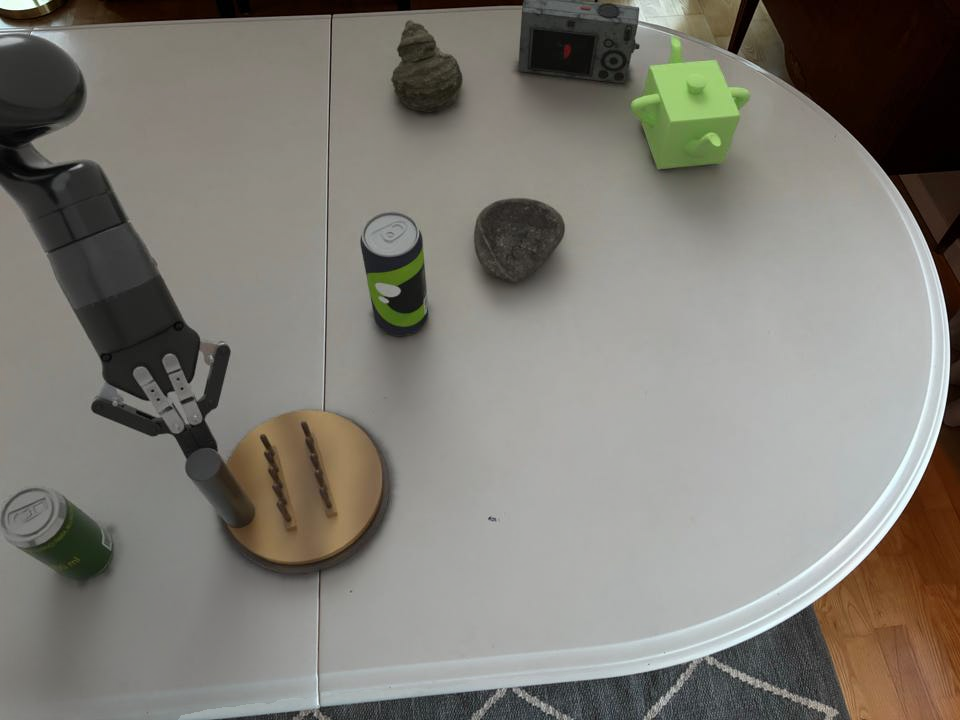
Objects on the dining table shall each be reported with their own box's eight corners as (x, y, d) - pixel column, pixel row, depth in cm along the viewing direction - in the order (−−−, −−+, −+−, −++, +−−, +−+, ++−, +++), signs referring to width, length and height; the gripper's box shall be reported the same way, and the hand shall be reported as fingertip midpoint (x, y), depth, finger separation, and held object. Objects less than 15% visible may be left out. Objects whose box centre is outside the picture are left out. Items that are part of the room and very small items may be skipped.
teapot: (658, 92, 111) (675, 26, 102) (746, 130, 107) (772, 65, 98) (606, 158, 104) (619, 94, 95) (699, 201, 101) (721, 138, 92)
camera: (634, 67, 114) (647, 5, 105) (632, 86, 112) (645, 24, 103) (521, 54, 115) (525, -9, 106) (517, 72, 113) (521, 10, 104)
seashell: (466, 20, 109) (394, 16, 109) (464, 26, 99) (383, 22, 98) (464, 105, 114) (394, 102, 114) (461, 119, 104) (385, 116, 103)
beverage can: (400, 285, 94) (389, 199, 81) (439, 314, 92) (434, 230, 79) (363, 318, 91) (345, 235, 78) (402, 349, 89) (391, 268, 76)
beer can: (103, 517, 79) (47, 471, 69) (125, 561, 77) (71, 519, 66) (50, 548, 77) (-15, 505, 67) (71, 593, 75) (7, 556, 65)
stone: (561, 293, 93) (566, 268, 89) (471, 289, 93) (471, 263, 89) (561, 220, 99) (565, 192, 95) (476, 216, 99) (476, 188, 95)
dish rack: (240, 588, 74) (198, 545, 63) (209, 442, 82) (166, 380, 70) (403, 532, 77) (391, 481, 66) (358, 395, 85) (341, 328, 73)
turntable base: (239, 599, 75) (236, 596, 74) (207, 444, 83) (203, 440, 82) (410, 539, 78) (409, 535, 77) (363, 396, 86) (362, 390, 85)
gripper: (29, 325, 62) (135, 510, 67) (191, 258, 65) (280, 439, 70) (42, 314, 69) (138, 482, 74) (189, 254, 72) (270, 419, 77)
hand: (207, 461), depth 72 cm, fingers closed
